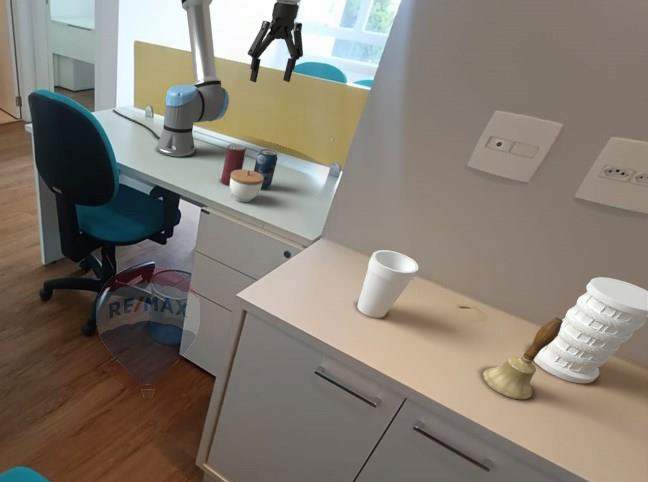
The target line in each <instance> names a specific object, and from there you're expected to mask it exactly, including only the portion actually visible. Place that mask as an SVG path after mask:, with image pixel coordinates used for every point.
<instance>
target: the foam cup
mask: <svg viewBox="0 0 648 482" xmlns="http://www.w3.org/2000/svg"><path fill="white" fill-rule="evenodd" d="M418 271H419V264H418V263H417V262H416V260H415V259H413V258H411V257H410V256H407V255H406V254H403V253H400V252H398V251H393V250H388V249H382V250H381V249H380V250H376V251H374V252H372V254H371V256H370V258H369V262H368V264H367V271H366V275H365V278H364V280H363V281H364V282H363V284H362V288H361V292H360V295H359V300H358V302H357V305H356V307H357V309H358V311H359V312H361V313H362V314H363V315H366V316H368V317H369V318H370V317H371V318H374V319H375V318H376V319H379V318H383V317H385V316H386V314H387V313H388V312H389V311H390V310H391V308H392V307H393V305H394V304H395V303H396V301H397V300H398V299H399V297H400V296H401V294H402V293H403V292H404V290H405V289H406V288H407V287H408V285H409V284H410V282H411V281H412V280H414V278H415V277H416V274H417V273H418Z"/></svg>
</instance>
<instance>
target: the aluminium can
mask: <svg viewBox="0 0 648 482" xmlns="http://www.w3.org/2000/svg"><path fill="white" fill-rule="evenodd" d="M246 153H247V147H246V146H244V145H242V144H238V143H230V144H228V145H227V147H226V150H225V156H224V162H223V168H222V172H221V173H222V174H221V179H220V182H221V183H222V184H223V185H225V186H229V187H230V178H231V172H232V171H235V170H243V169H244V168H243V167H244V163H245V158H246Z"/></svg>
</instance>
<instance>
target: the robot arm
mask: <svg viewBox="0 0 648 482" xmlns="http://www.w3.org/2000/svg"><path fill="white" fill-rule="evenodd" d="M213 1H214V0H181V7H182V9H183V10H184V11H185V12H186V18H187V27H188V34H189V35H188V37H189V44H190V53H191V62H192V71H193V79H194V82H193V83H192V84H177V85H173V86H171V87H170V88H168V89H167V92H166V96H165V100H164V104H165V106H164V116H163V117H164V118H163V127H162V128H163V129H162V131H161V134H160V136H158V135H157V134H156V132H155V131H154V130H153V129H151V128H150V127H149V126H147V125H146V124H143V123H142V122H139V121H137V120H136V119H133V118H130V117H128V116H126V115H124V114H122V113H120V112H119V111H118V110H116V109H114V108H113V109H112V112H114V113H115V114H117V115H118V116H120V117H123V118H124V119H127V120H128V121H132V122H134V123H136V124H137V125H140V126H142V127H143V128H146V129H147V130H148V131H149V132H151V133H152V134H153V136H154V137H155V138H156V139H158V142H157V145H156V150H157V152H159V153H160V154H161V155H165V156H168V157H175V158H186V157H190V156H193V155H194V154H195V148H196V147H195V141H194V135H193V134H194V133H193V130H194V123H195V124H196V123H204V122H215V121H219V120H221V119H222V118H223V117H224V116H225V115H226V113H227V111H228V108H229V104H230V95H229V92H228V91H227V89H226V88H224V87H222V80H221V79H219V77H218V76H217V70H216V69H217V68H216V60H215V59H216V58H215V49H214V39H213V30H212V20H211V19H212V18H211V9H210V5H211V4H212V2H213ZM300 2H301V0H276V2H274V4H273V9H272V13H271V18H272V19H271V21H268V20H262V22H261V26H260V29H259V31H258V32H257V35H256V37H255V39H254V40H253V42H252V44H251V46H250V47H249V49H248V51H247V55H248V56H250V57H251V62H250V70H251V72H250V77H249V81H251V82H253V83H257V80H258V76H259V75H258V74H259V71H260V65H261V61H262V60H261V58H260V57H261V56H262V55H263V54H264V52H265V51H266V50H267V49H268V47H269V46H270V45H271V43H272V42H273V41H275V40H284V42H285V45H286V47H287V51H288V53H289V56H290V57H288V58H287V62H286V66H285V70H284V75H283V79H282V81H283V82H284V81H285V82H287V83H291V78H292V74H293V71H294V70H295V68H296V64H297V61H298V60H300V58H303V56H304V50H303V49H304V48H303V39H302V38H303V36H302V28H303V23H302V22H295V20H296V19H297V16H298V13H299V9H300V6H299V5H300V4H299V3H300ZM292 31H293V32H292ZM292 33H293V34H292Z"/></svg>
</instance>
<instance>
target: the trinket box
mask: <svg viewBox="0 0 648 482" xmlns="http://www.w3.org/2000/svg"><path fill="white" fill-rule="evenodd" d="M263 180H264V177H263V175H261V174H260V173H258V172H255V171H254V170H251V169H242V170H235V171H232V172H231V178H230V186H229V192H230V194H231V195H232V197H233V199H234V200H236V201H238V202H240V203H241V202H242V203H249V202H251V201H252V200H253V199H255V198H256V197H257V196H258V195H259V193H261V187H262V183H263Z"/></svg>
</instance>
